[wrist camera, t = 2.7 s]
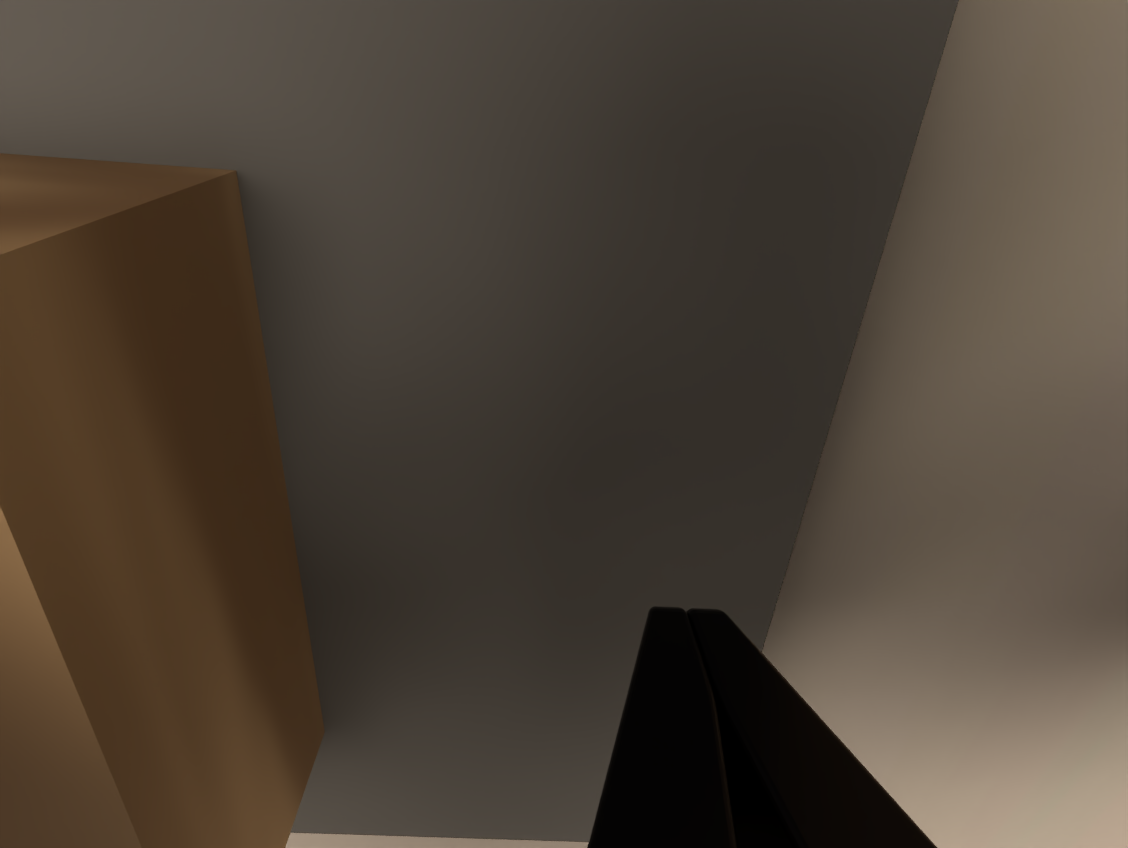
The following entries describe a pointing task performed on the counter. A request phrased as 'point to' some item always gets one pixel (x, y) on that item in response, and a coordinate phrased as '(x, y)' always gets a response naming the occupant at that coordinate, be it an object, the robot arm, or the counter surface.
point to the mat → (516, 331)
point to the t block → (142, 521)
